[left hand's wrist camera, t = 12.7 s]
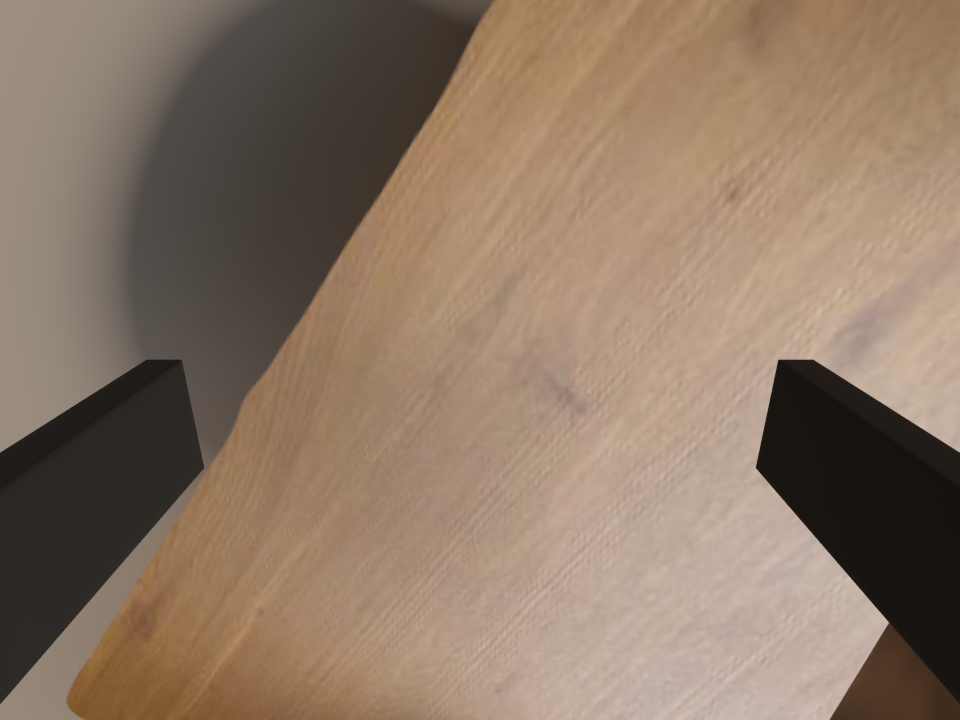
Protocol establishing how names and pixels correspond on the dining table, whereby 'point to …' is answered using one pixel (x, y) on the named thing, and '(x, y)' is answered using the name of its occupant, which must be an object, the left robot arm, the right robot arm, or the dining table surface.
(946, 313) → the dining table surface
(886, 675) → the box
